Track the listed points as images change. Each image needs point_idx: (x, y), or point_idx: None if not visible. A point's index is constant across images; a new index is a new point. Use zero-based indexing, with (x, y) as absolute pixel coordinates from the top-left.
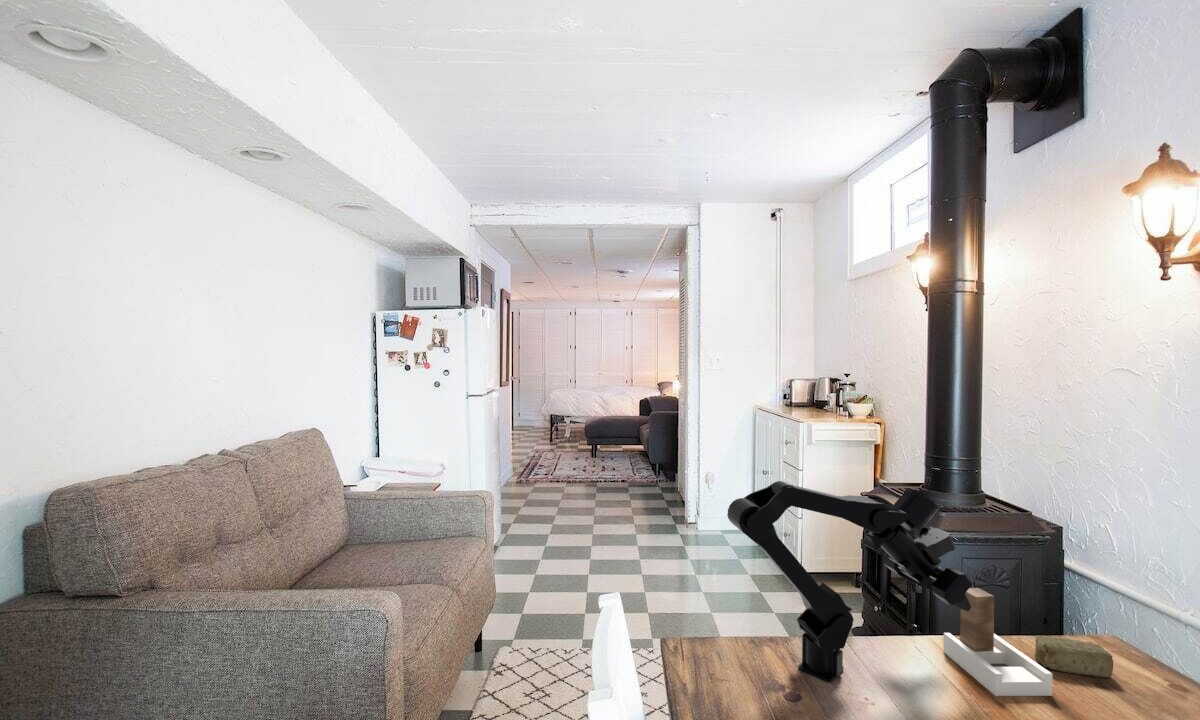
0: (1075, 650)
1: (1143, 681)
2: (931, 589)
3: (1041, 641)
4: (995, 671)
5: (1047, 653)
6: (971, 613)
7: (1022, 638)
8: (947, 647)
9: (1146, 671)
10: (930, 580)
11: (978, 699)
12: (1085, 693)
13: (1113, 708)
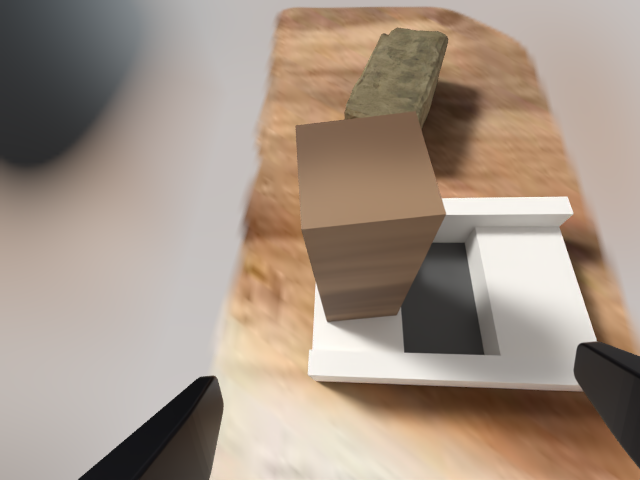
0: (431, 79)
1: None
2: (215, 427)
3: None
4: None
5: None
6: (389, 269)
7: (266, 129)
8: (336, 379)
9: (398, 25)
10: (175, 446)
11: (624, 474)
12: (503, 155)
13: (557, 144)
